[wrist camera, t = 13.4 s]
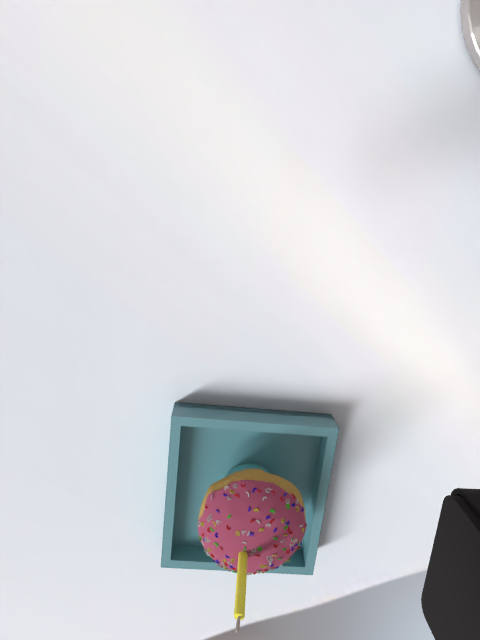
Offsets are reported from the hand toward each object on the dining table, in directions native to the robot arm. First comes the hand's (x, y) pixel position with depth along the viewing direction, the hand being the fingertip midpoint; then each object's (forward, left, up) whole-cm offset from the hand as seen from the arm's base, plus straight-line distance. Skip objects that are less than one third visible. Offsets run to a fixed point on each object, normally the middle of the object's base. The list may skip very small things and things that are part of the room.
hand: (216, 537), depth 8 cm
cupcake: (-4, +16, -25) cm, 30 cm away
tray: (-4, +17, -25) cm, 30 cm away
